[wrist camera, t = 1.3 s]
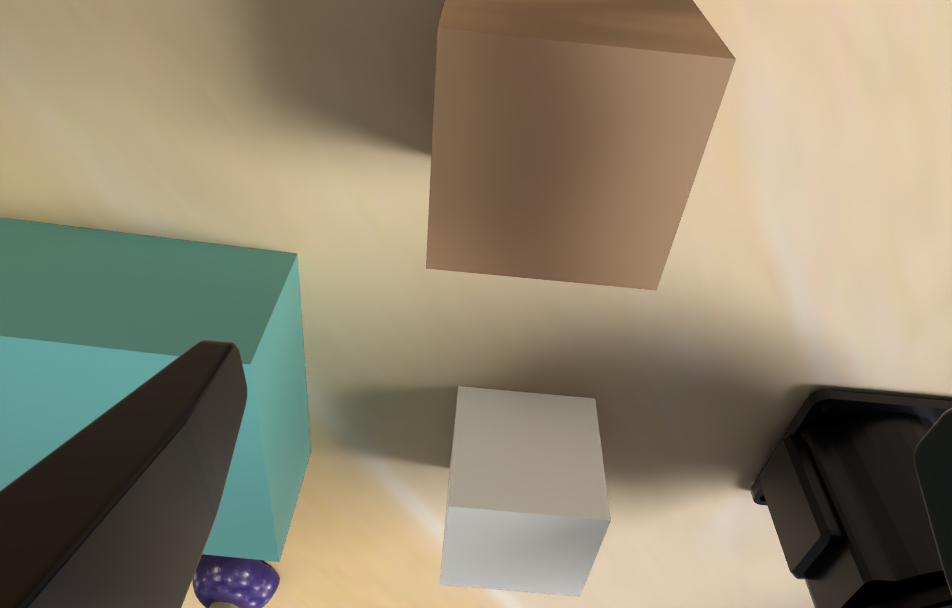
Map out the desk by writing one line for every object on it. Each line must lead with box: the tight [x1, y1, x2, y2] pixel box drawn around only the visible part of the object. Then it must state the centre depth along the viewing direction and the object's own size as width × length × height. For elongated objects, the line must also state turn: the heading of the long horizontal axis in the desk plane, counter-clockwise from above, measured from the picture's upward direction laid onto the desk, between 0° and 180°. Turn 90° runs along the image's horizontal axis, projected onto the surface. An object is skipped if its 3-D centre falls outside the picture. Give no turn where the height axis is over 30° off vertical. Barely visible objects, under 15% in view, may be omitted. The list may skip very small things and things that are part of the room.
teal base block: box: [0, 218, 311, 562], centre depth 21 cm, size 10×10×5 cm
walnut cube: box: [426, 0, 736, 290], centre depth 14 cm, size 5×5×5 cm
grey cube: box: [440, 386, 611, 597], centre depth 23 cm, size 5×5×5 cm
